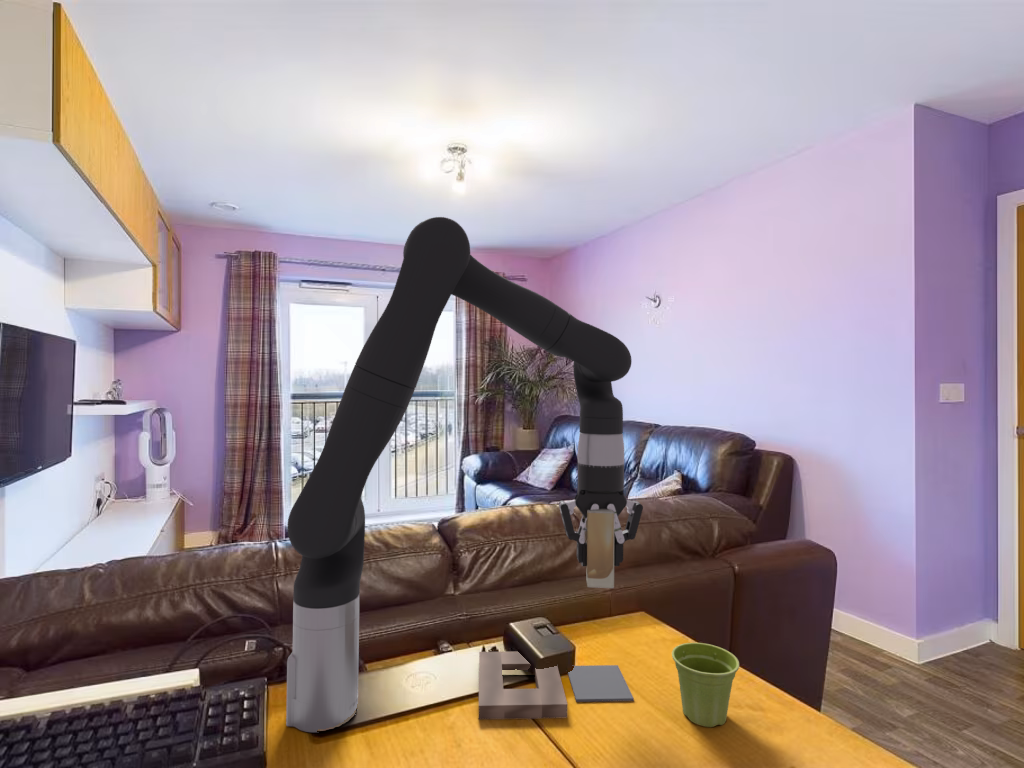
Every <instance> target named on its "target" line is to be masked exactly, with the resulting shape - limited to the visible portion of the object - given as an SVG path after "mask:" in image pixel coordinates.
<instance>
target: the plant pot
mask: <svg viewBox="0 0 1024 768" xmlns="http://www.w3.org/2000/svg"><path fill="white" fill-rule="evenodd" d="M671 658H672V660H673V661H674V663H675V664H674V665H675V668H676V670H677V676H678V683H679V691H680V699H681V707H682V713H683V714H684V715H685V716H686V717H687V718H688V719H689V720H690V722H692V723H694V724H695V725H698V726H703V727H705V728H713V727H716V726H718V725H720V726H723V725H725V724H726V721H727V717H728V712H729V704H730V698H731V693H732V692H731V691H732V686H733V681H734V679H735V677H736V673H737V672H738V671H739V669H740V661H739V659H738V657H736V656H735V655H734V654H733V653H732V652H730V651H728V650H727V649H725V648H722V647H720V646H716V645H713V644H709V643H705V642H704V643H703V642H686V643H681V644H679V645H676V646H675V647H673V649H672V651H671Z"/></svg>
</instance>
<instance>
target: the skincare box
mask: <svg viewBox="0 0 1024 768" xmlns="http://www.w3.org/2000/svg"><path fill="white" fill-rule="evenodd" d="M586 543H587V566H585V567H586V569H585V570H586V571H585V572H586V574H585V575H586V578H585V579H586V586H587V588H594V589H595V588H597V589H598V588H599V589H600V588H601V589H614V588H615V566H614V511H612V510H607V509H599V510H596V511H590V510H587V540H586Z"/></svg>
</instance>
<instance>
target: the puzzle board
mask: <svg viewBox="0 0 1024 768" xmlns="http://www.w3.org/2000/svg"><path fill="white" fill-rule="evenodd" d="M478 654H479V657H478V659H479V660H478V662H479V663H478V670H479V671H478V720H521V719H522V720H526V719H529V720H530V719H531V720H532V719H567V718H568V701H567V697H566V694H565V689H564V685H563V683H562V679H561V675H560V671H559V667H558V665H557V666H554V667H549V668H544V669H536V668H535V677H534V682H535V688H504V680H503V679H504V676H502V670H515V669H517V670H528V669H529V668H530V666H531V664H530V663H529V662H528V661H527V660H526V659H525V658H524V657H523V656H522V655H521V654H520V653H519V652H518V650H517V651H514V650H512V651H479V652H478Z"/></svg>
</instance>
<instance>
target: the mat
mask: <svg viewBox="0 0 1024 768" xmlns="http://www.w3.org/2000/svg"><path fill="white" fill-rule="evenodd" d="M573 666H574V668H573V670H572V671H570V672H568V673H567V675H568V679H569V682H570V685H571V689H572V692H573V696H574V700H575V702H576V703H579V702H580V703H582V702H585V703H591V702H593V703H594V702H634V701H635V699H634V696H633V694H632V692H631V689H630V688H629V685H628V684H627V681H626V680H625V677H624V675H623V673H622V671H621V668H620V667H619V665H618V664H617V665H616V664H610V665H609V664H607V665H606V664H604V665H596V664H595V665H573Z"/></svg>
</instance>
